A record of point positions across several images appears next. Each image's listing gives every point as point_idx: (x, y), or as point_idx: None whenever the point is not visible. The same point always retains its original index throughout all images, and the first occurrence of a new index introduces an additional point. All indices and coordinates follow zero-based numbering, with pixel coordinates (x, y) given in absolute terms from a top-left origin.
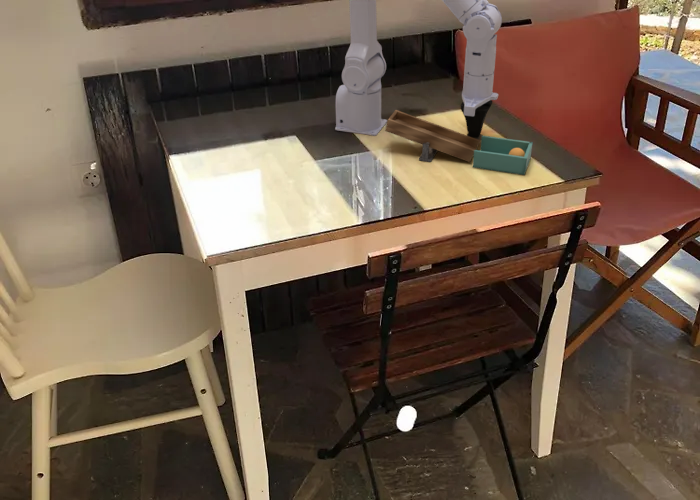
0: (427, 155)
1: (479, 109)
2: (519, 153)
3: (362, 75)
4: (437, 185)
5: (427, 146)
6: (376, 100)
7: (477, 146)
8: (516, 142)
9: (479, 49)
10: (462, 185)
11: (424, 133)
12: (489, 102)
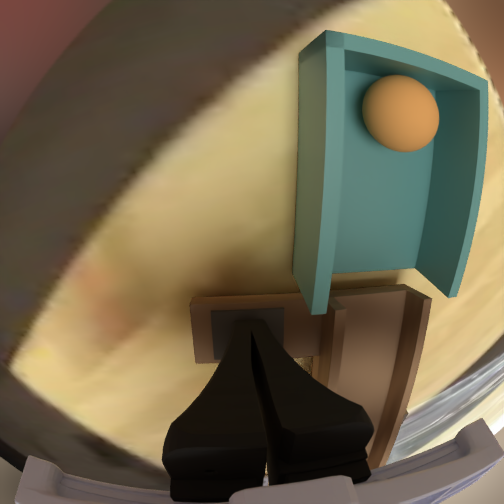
0: None
1: (361, 450)
2: (436, 104)
3: None
4: (484, 311)
5: (405, 411)
6: None
7: (302, 297)
8: (339, 121)
9: None
10: (491, 261)
11: (391, 448)
12: (231, 457)
